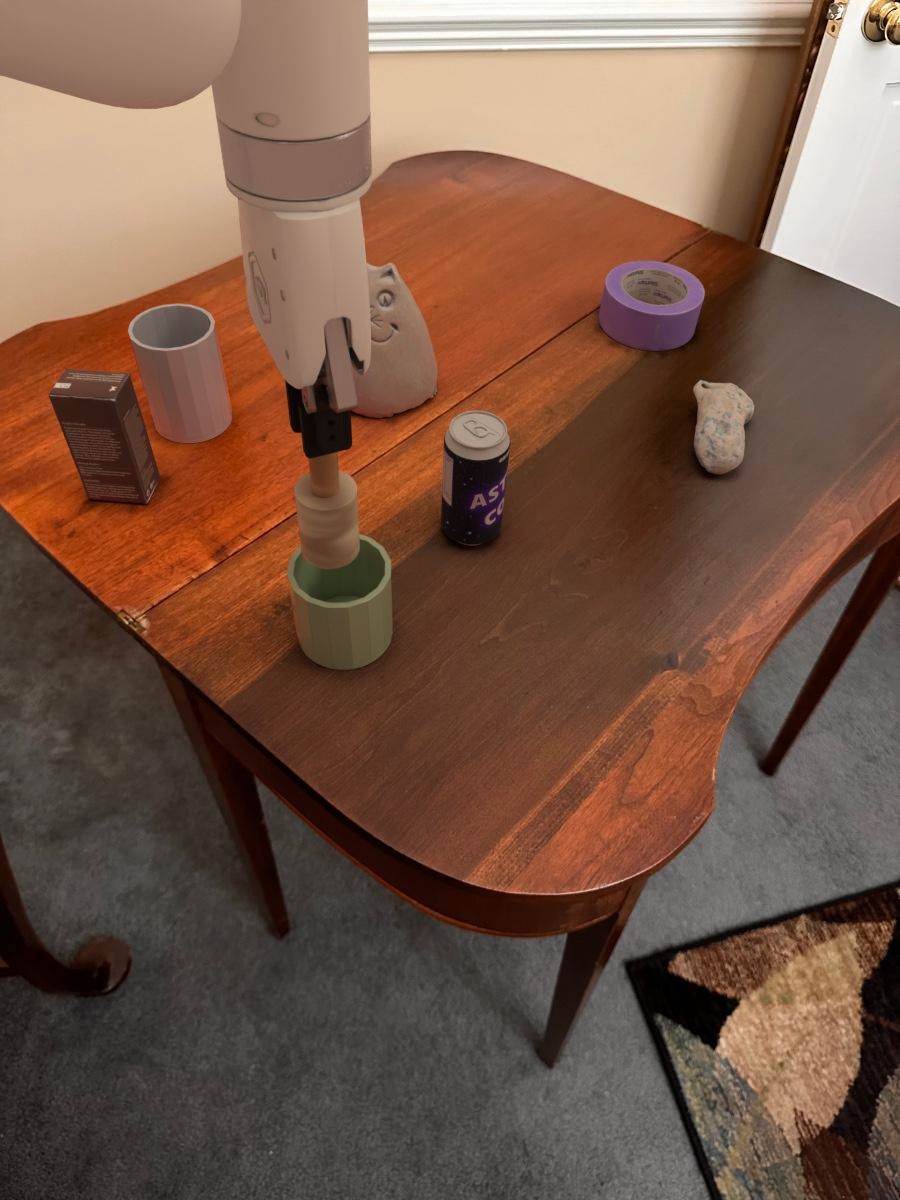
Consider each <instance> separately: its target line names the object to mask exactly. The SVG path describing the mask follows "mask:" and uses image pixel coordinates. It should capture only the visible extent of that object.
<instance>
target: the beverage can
mask: <svg viewBox="0 0 900 1200" xmlns="http://www.w3.org/2000/svg"><path fill="white" fill-rule="evenodd" d="M508 433H509V432H508V427H507V424H506V423H505V422H504V420H503V419H502V418H501V417H500V416H499V415H496V414H494V413H491V412H489V411H485V410H467V411H464V412H461V413H459V414H457V415H456V416H454V417H453V418H452V419H451V420H450V423H449V425H448V428H447V430H446V431H445V434H444V437H443V450H442V451H443V452H442V453H443V454H442V476H441V477H442V478H441V480H442V481H441V505H440V506H441V507H440V526H441V529H442V531H443V532H444V534H445V535H446V536H447V537H448V538H449V539H451V540H453V541H455V542H457V543H458V544H461V545H465V546H479V545H482V544H484V543H488V542H490V541H492V540H493V539H494V538H496V537H497V536H498V535H499V533H500V531H501V529H502V522H503V515H504V514H503V513H504V505H505V496H506V488H507V487H506V486H507V478H508V469H509V460H510V450H511V437H510V435H509V434H508Z"/></svg>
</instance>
